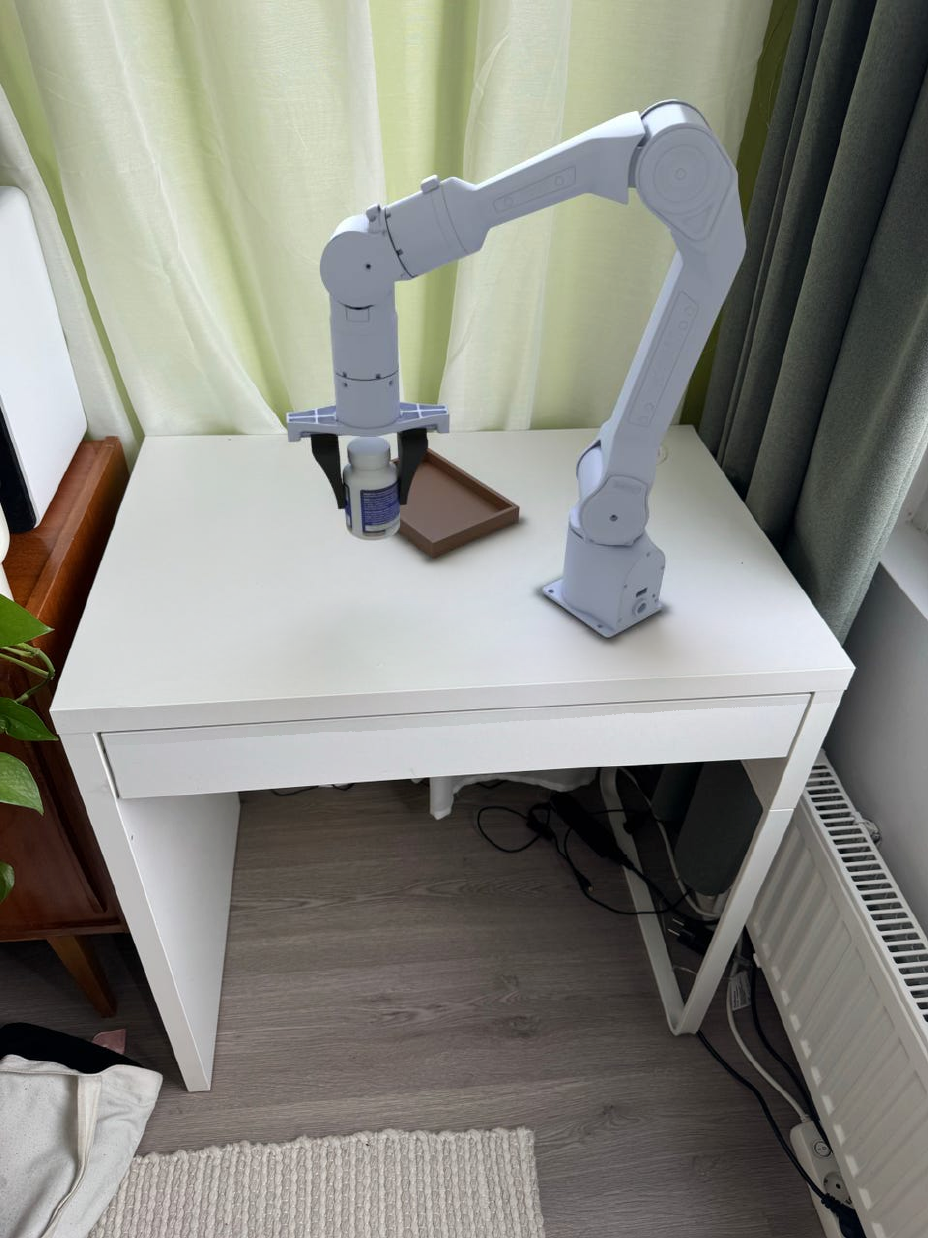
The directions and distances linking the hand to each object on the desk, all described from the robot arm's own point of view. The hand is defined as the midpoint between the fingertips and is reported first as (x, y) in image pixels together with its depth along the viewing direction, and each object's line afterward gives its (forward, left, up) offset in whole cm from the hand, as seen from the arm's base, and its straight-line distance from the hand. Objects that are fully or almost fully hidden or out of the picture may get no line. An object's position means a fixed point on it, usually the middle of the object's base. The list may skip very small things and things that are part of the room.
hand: (372, 501), depth 89 cm
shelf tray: (+9, -13, -10) cm, 19 cm away
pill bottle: (0, 0, -3) cm, 3 cm away
